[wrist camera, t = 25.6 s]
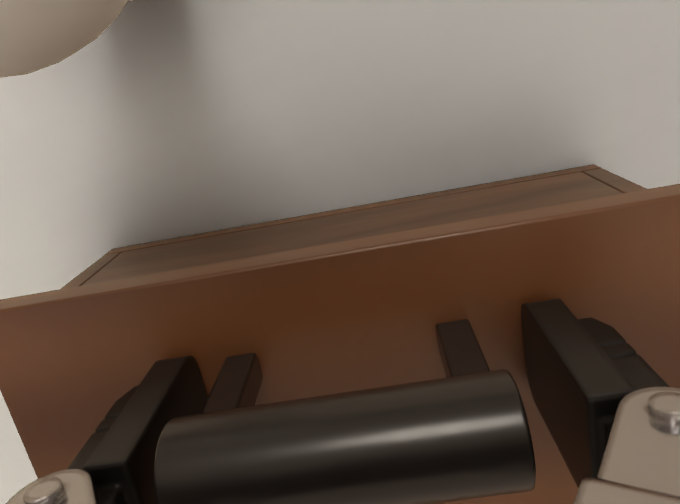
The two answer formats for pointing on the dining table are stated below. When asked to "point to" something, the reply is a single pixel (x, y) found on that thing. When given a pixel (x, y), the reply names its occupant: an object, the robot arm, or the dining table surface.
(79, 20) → the lightbulb
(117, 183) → the dining table surface
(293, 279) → the lid
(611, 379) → the robot arm
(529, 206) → the chest
